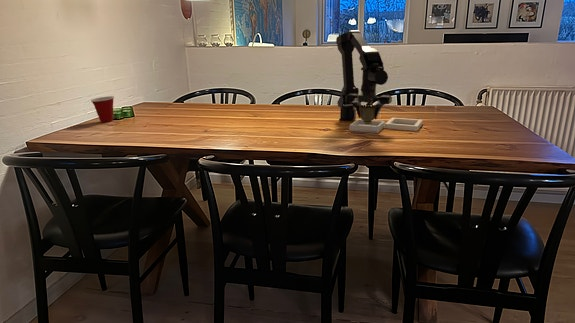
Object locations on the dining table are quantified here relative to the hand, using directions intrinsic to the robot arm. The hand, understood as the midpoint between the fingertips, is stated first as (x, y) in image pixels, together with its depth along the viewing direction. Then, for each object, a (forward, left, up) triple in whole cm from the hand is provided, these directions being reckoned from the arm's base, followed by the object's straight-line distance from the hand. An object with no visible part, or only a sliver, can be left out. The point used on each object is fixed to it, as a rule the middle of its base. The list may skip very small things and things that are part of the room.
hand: (367, 118), depth 170 cm
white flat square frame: (+14, +10, -4) cm, 18 cm away
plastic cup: (-125, -32, -5) cm, 129 cm away
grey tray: (0, 0, -4) cm, 4 cm away
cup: (0, 0, -3) cm, 3 cm away
